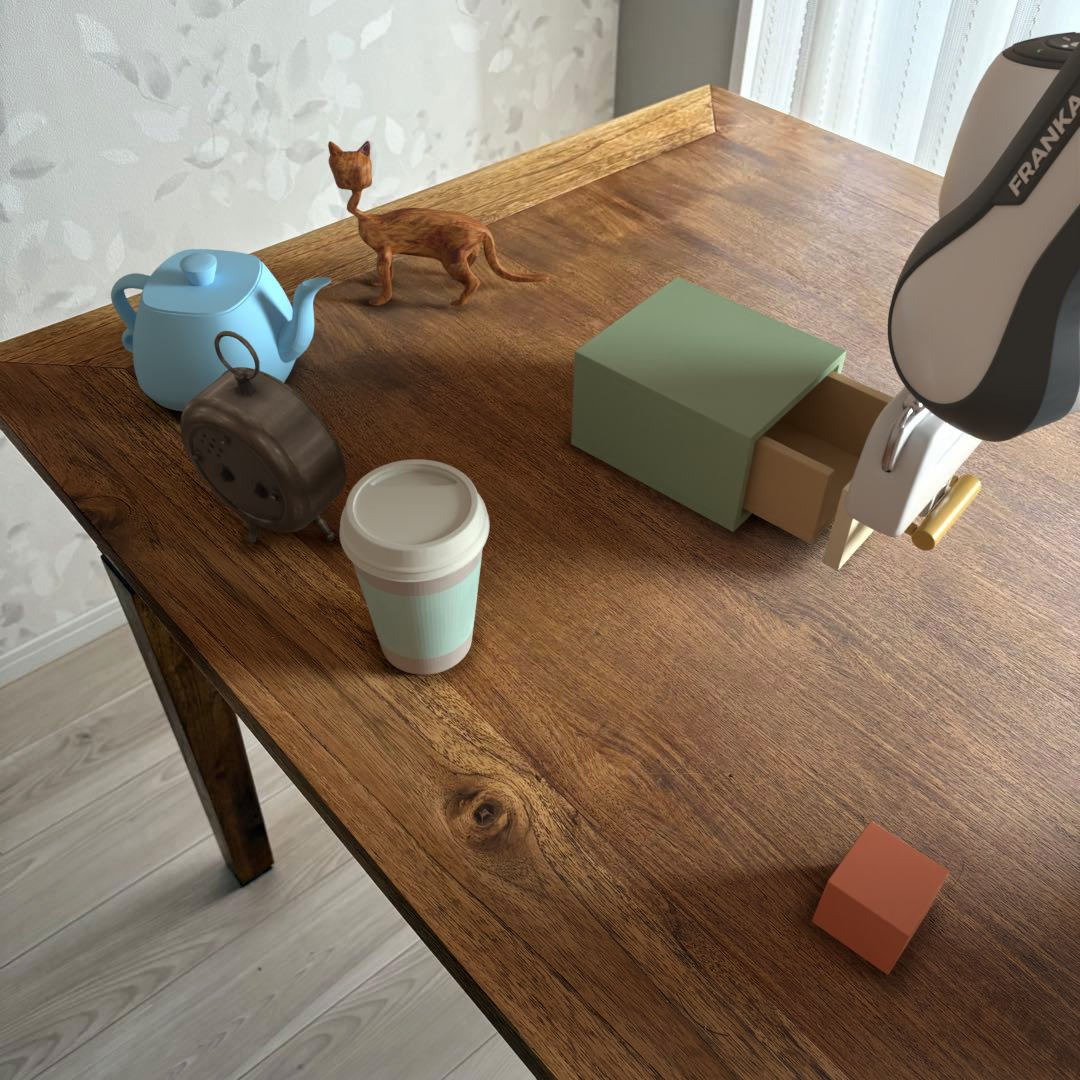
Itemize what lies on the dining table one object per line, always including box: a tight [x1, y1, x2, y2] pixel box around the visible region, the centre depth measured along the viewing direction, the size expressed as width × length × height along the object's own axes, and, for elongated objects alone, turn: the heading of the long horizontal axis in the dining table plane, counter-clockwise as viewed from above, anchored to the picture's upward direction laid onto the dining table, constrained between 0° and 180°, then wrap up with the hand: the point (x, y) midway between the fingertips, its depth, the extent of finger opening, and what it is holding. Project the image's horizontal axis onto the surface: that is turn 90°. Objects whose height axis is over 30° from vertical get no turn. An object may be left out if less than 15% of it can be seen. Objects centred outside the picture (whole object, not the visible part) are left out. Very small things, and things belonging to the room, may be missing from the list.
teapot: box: [110, 248, 332, 413], centre depth 86 cm, size 13×11×18 cm
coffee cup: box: [339, 458, 491, 676], centre depth 66 cm, size 8×8×12 cm
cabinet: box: [570, 276, 848, 533], centre depth 81 cm, size 15×13×9 cm
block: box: [811, 820, 950, 976], centre depth 56 cm, size 4×4×4 cm
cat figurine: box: [327, 140, 551, 307], centre depth 94 cm, size 18×7×14 cm, turn 93°
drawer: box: [743, 371, 982, 571], centre depth 76 cm, size 18×11×7 cm, turn 50°
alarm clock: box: [180, 331, 347, 544], centre depth 72 cm, size 11×5×16 cm, turn 58°
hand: (922, 501), depth 73 cm, fingers closed
